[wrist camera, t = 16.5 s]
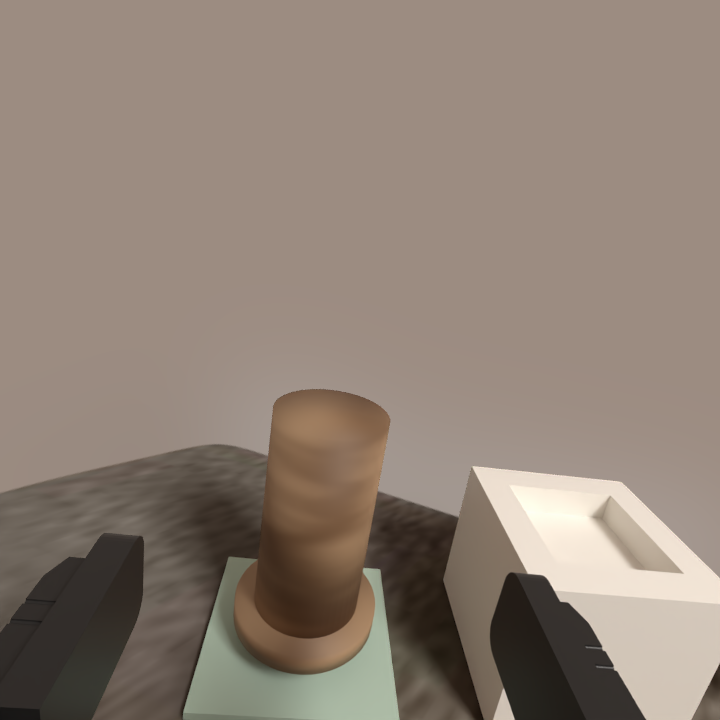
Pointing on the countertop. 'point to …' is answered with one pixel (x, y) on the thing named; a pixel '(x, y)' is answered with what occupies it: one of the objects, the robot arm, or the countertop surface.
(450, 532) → the countertop surface
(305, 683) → the mat
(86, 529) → the countertop surface
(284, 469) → the flanged wooden peg
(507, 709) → the white socket block
